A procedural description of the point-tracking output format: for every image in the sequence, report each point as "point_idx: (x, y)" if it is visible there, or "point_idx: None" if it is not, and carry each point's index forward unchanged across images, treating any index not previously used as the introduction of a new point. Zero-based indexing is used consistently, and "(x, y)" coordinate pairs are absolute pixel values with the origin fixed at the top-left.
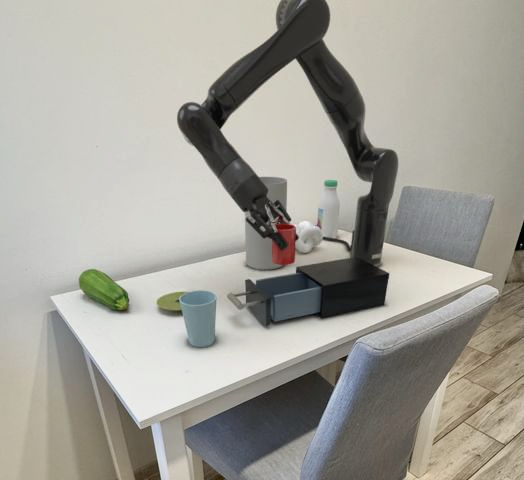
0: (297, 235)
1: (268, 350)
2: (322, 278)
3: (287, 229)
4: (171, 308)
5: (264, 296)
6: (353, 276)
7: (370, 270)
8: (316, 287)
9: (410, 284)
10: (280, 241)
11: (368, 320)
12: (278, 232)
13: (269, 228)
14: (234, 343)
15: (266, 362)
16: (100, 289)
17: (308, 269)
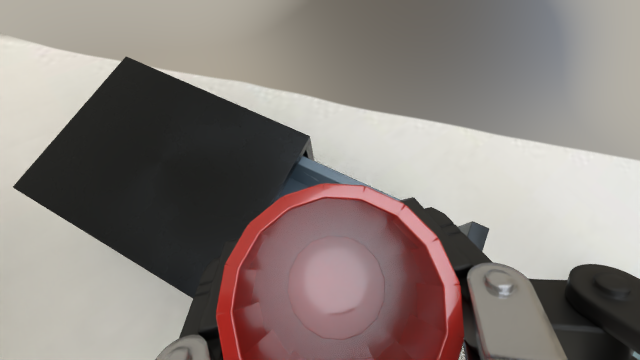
0: (226, 248)
1: (505, 179)
2: (262, 168)
3: (250, 319)
4: None
5: (479, 245)
6: (196, 110)
7: (126, 99)
8: (307, 167)
9: (39, 116)
10: (455, 226)
11: (263, 102)
12: (458, 265)
13: (625, 299)
14: (548, 256)
15: (538, 155)
16: None
17: (213, 251)
